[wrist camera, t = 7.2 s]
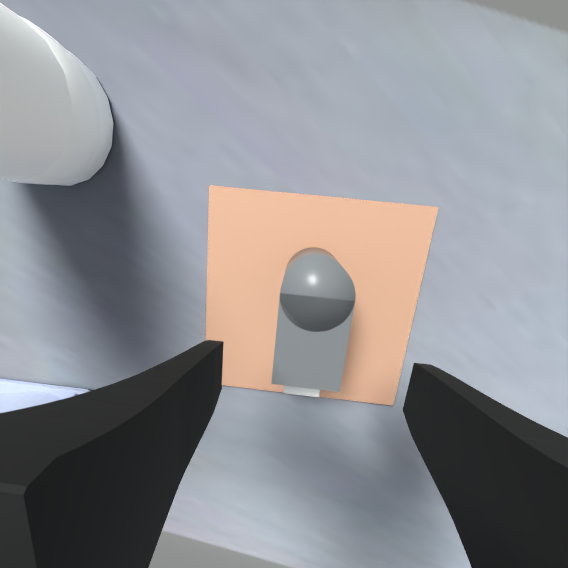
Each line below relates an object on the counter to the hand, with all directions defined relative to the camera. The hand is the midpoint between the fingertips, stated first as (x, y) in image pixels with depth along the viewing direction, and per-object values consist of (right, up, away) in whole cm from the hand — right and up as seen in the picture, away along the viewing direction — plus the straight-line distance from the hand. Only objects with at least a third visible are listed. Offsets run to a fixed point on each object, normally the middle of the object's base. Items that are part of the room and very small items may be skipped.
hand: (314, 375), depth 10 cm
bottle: (-15, +14, +7) cm, 22 cm away
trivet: (+1, +2, +9) cm, 9 cm away
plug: (+1, +2, +8) cm, 8 cm away
